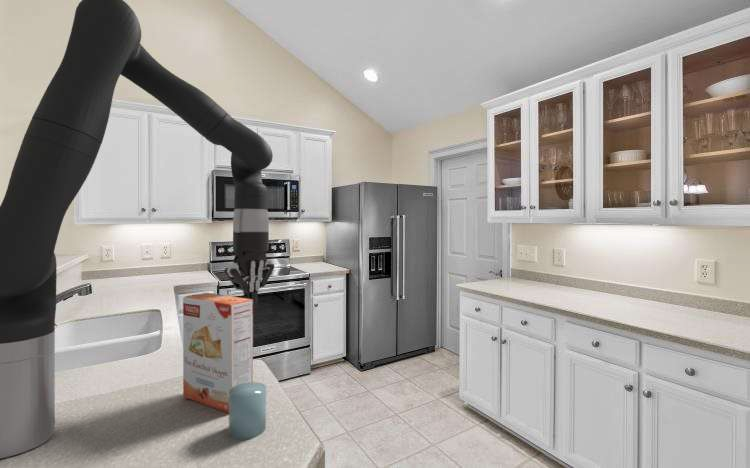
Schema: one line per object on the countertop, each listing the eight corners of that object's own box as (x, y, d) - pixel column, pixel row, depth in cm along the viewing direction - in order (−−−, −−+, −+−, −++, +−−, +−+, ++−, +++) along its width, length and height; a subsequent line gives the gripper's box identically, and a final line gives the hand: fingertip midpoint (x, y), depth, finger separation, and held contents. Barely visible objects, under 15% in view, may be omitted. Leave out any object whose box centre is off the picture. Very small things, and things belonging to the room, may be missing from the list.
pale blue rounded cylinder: (247, 443, 59) (247, 400, 59) (221, 433, 62) (221, 392, 62) (273, 425, 64) (273, 386, 64) (247, 417, 67) (248, 379, 67)
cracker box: (180, 398, 74) (181, 295, 74) (206, 387, 79) (207, 291, 79) (229, 415, 68) (229, 303, 67) (253, 402, 73) (254, 297, 73)
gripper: (260, 230, 89) (259, 301, 89) (214, 229, 77) (213, 312, 77) (284, 230, 85) (283, 304, 85) (240, 230, 73) (239, 316, 74)
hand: (250, 307), depth 81 cm, fingers closed
